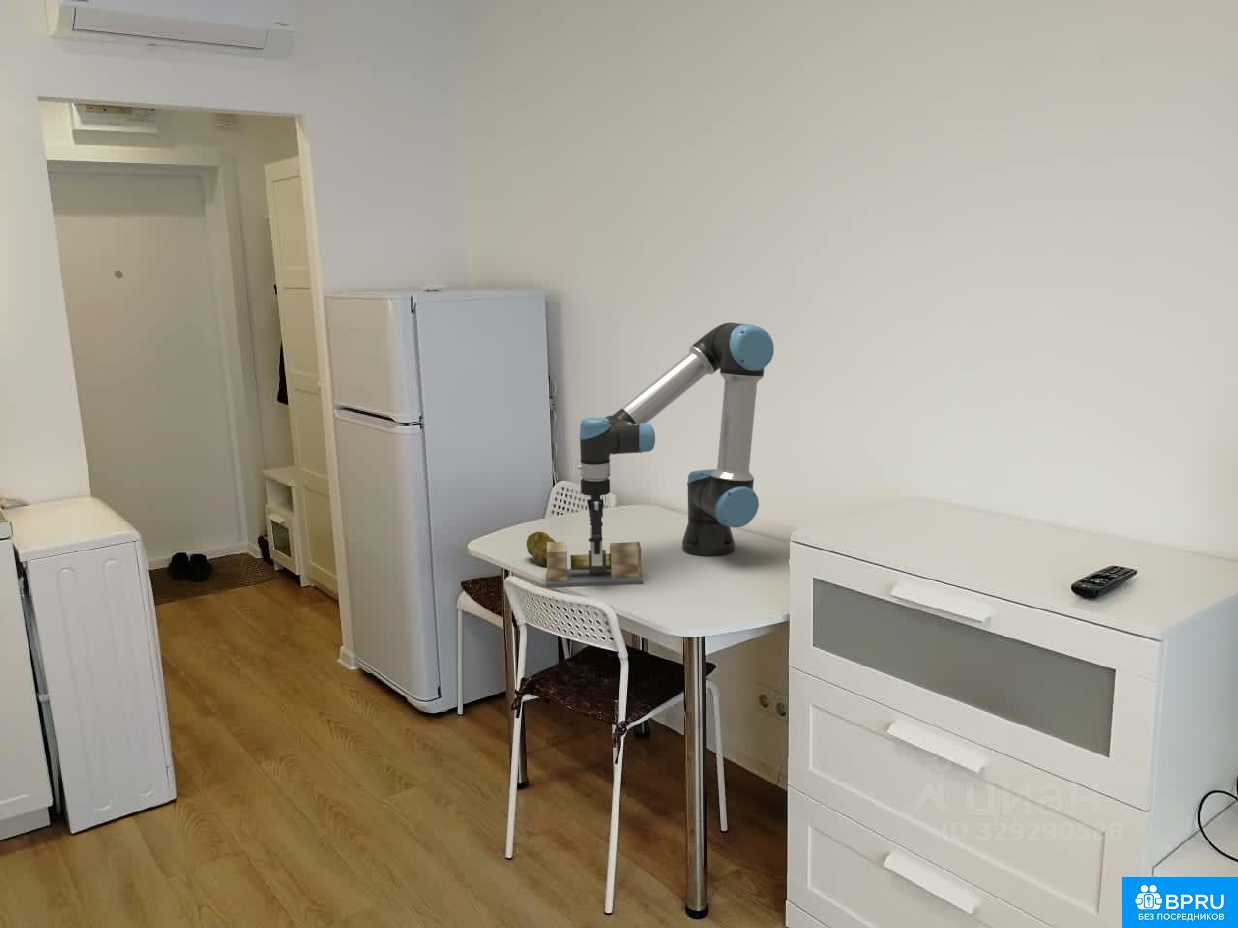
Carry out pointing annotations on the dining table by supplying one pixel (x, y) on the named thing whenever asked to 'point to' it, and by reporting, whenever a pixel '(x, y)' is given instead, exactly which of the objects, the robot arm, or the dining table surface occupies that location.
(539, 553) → the potato
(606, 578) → the board
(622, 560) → the sleeve
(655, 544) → the dining table surface
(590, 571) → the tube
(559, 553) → the socket
